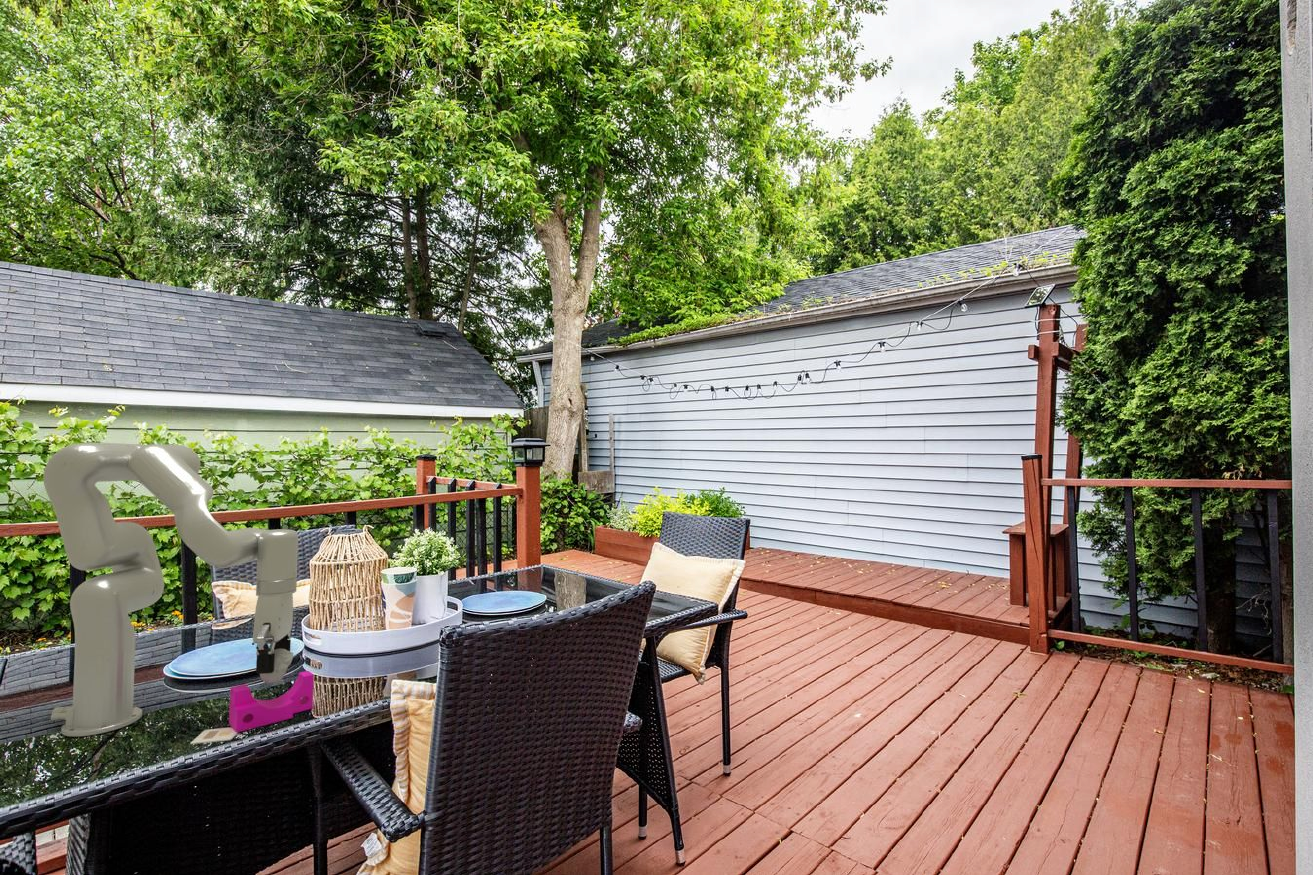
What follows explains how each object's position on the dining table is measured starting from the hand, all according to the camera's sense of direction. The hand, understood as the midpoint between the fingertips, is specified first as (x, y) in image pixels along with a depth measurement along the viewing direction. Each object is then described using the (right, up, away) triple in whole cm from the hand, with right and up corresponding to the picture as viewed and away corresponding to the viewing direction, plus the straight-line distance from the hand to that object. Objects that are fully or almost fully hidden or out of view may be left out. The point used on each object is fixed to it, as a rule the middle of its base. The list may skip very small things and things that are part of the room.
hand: (273, 665), depth 131 cm
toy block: (0, -11, 0) cm, 11 cm away
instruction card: (-6, -11, -9) cm, 15 cm away
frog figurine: (0, -4, 0) cm, 4 cm away
